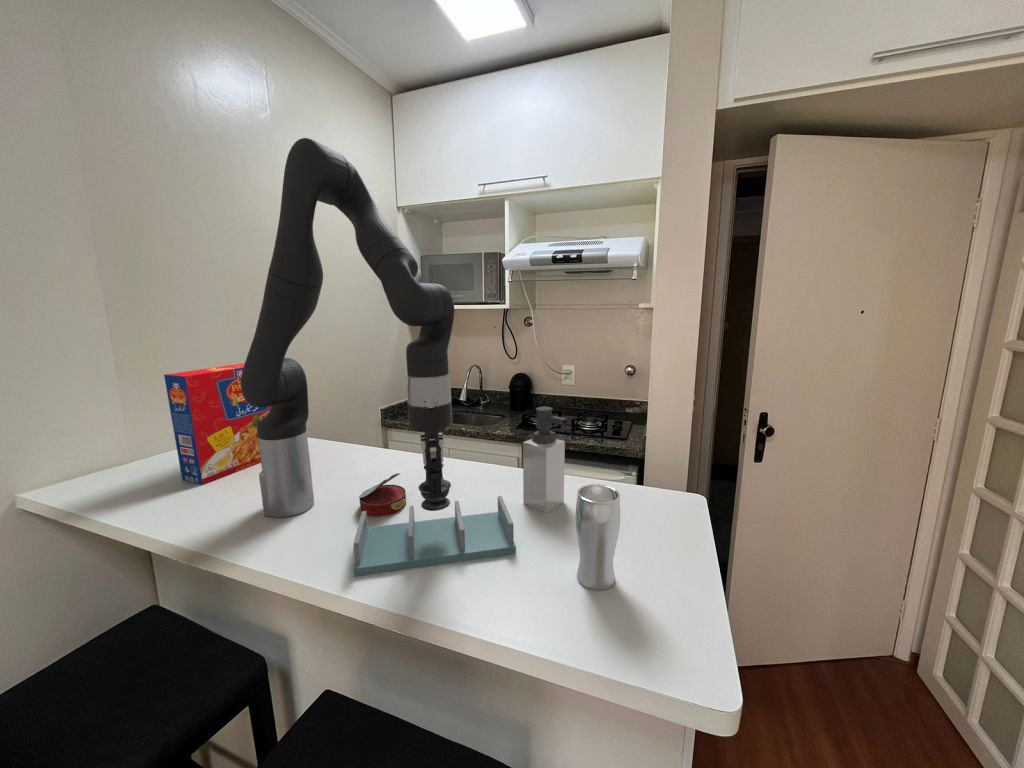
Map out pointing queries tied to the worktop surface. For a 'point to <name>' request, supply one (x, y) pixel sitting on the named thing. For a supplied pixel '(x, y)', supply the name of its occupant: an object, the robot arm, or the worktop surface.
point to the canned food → (383, 499)
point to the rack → (432, 541)
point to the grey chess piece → (435, 503)
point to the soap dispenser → (544, 464)
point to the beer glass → (597, 534)
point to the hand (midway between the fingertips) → (434, 488)
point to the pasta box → (213, 423)
